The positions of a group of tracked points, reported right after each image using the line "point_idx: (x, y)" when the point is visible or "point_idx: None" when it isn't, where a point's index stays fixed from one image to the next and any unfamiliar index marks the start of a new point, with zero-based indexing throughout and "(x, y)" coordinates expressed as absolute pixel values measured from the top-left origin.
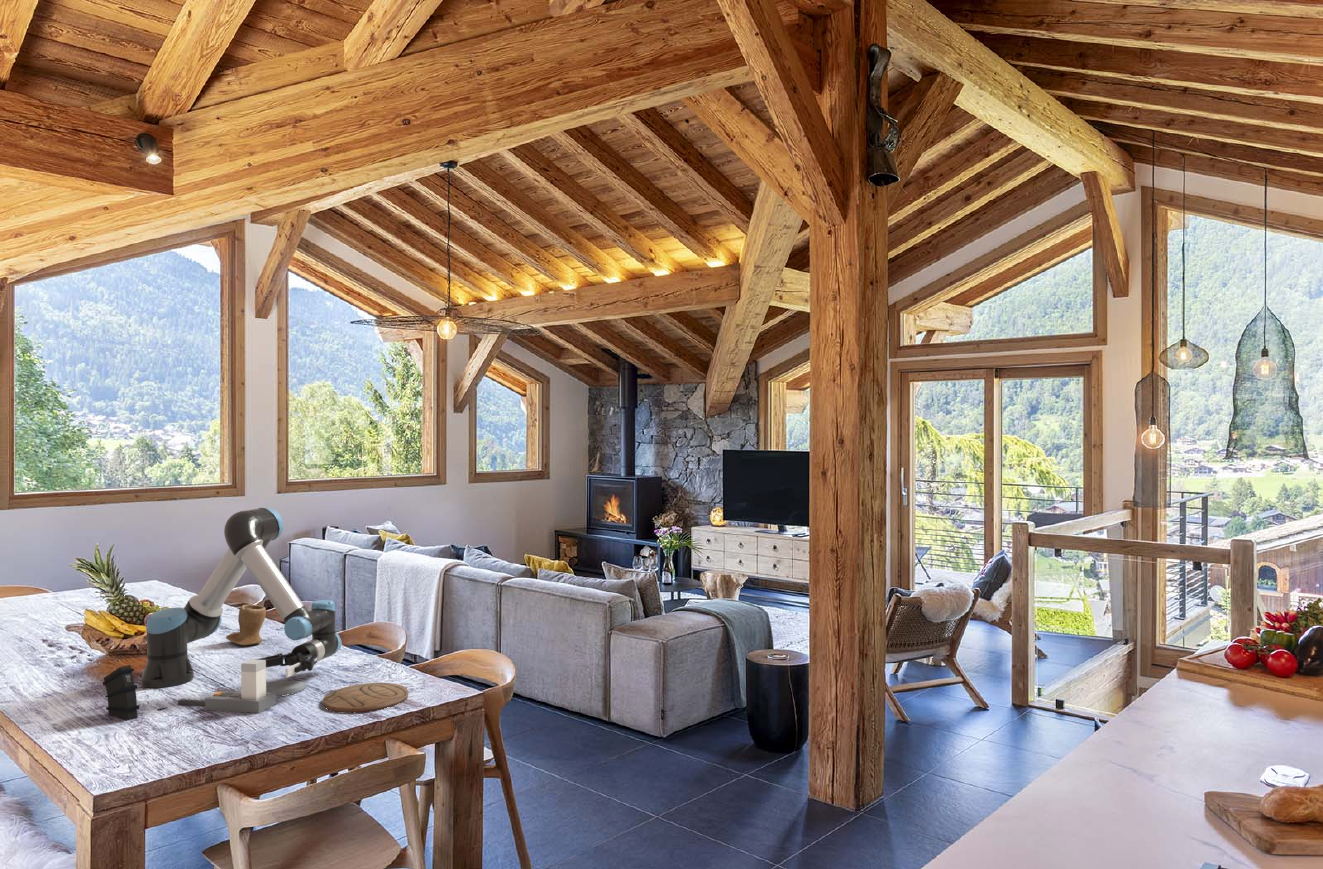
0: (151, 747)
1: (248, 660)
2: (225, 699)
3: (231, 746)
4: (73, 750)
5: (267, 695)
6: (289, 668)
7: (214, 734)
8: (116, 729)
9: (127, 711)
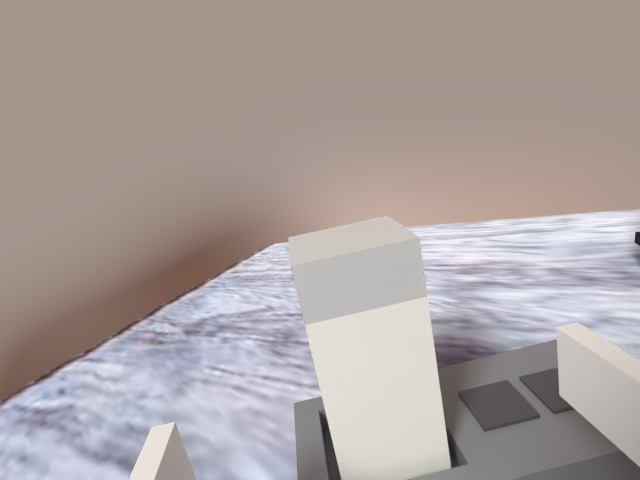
0: None
1: (406, 230)
2: (470, 360)
3: (212, 314)
4: (480, 228)
5: (319, 475)
6: (144, 451)
7: (301, 320)
8: (563, 255)
9: (636, 242)
